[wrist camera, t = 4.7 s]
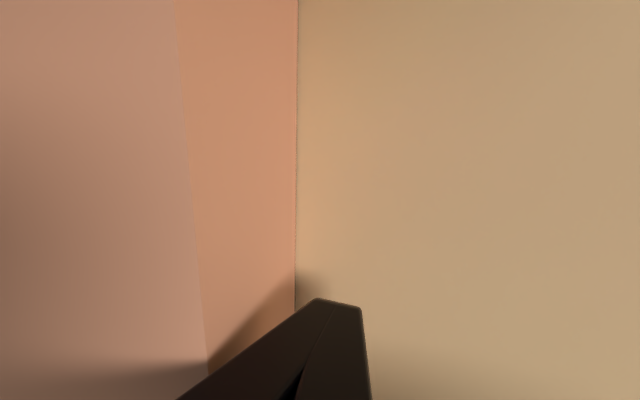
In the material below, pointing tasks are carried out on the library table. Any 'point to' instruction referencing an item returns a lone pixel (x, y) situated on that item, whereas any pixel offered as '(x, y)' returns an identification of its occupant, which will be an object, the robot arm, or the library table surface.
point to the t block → (143, 191)
